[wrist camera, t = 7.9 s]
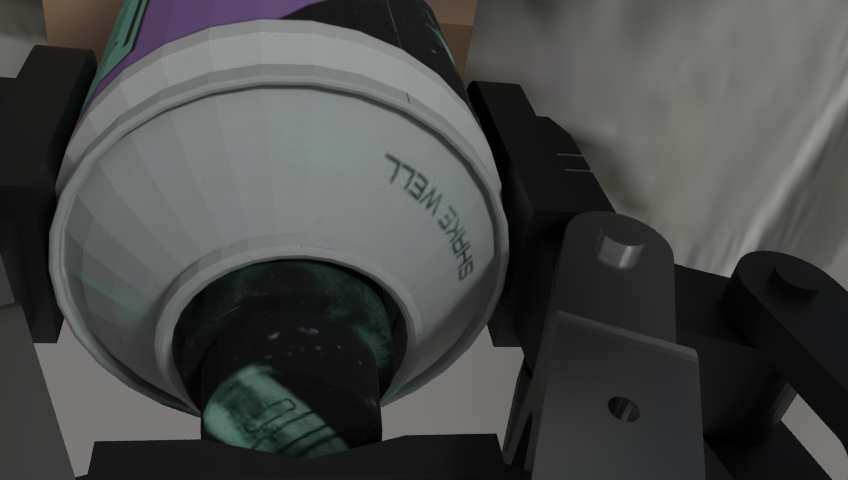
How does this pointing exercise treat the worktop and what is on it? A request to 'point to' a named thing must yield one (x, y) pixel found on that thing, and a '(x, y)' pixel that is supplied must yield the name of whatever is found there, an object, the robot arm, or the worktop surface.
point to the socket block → (101, 3)
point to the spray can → (278, 215)
